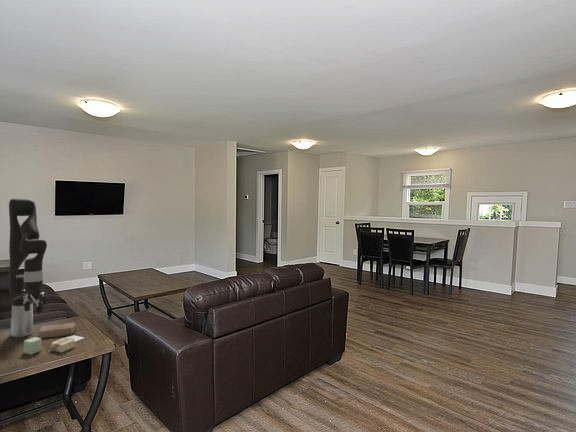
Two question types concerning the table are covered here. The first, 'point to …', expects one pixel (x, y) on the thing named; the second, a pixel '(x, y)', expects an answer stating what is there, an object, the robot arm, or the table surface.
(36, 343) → the green block
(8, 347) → the table surface
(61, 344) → the base block
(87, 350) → the table surface
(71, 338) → the page
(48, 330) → the brick
